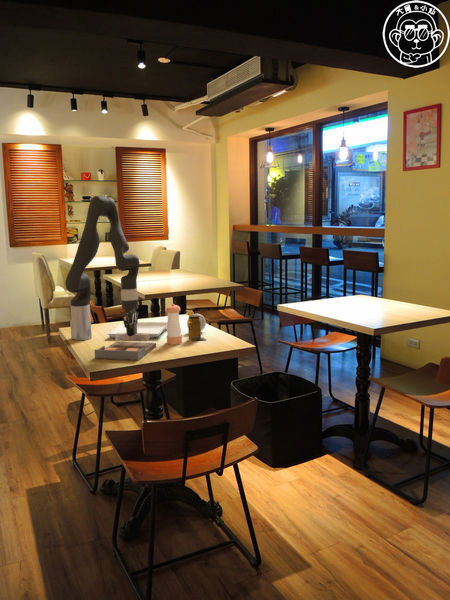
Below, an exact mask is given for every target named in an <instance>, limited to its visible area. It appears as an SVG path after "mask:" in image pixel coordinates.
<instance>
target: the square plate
mask: <svg viewBox="0 0 450 600" xmlns="http://www.w3.org/2000/svg"><path fill="white" fill-rule="evenodd" d="M167 324H168V321H167V322H166V321H165V322H164V321H163V322H161V321H159V322H156V321H149V322H148V321H144V322H143V321H142V322H139V321H138V322H137V334H149V339H152V338H158V337H159V336H160V335H161V334H162V333H163V332H164V331H165V330H167ZM116 333H126V328H125V326H124V322H122V323H120V324H119V325H117V326H115V327H114V328H113V329H112V330H110V331H109V332H108V333H107V335H108V337H111V338H114V339H115V334H116Z"/></svg>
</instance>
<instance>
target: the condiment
mask: <svg viewBox="0 0 450 600" xmlns="http://www.w3.org/2000/svg"><path fill="white" fill-rule="evenodd" d="M188 318H189V321H188V320H187V321H188V326H187V327H188V329H187V330H188V331H187V332H188V337H187V338H186V339H187V340H188V342H197V341H207V339H206V338H205V337H204V336H201V335H202V333H201V332H202V331H201V327H200V319H199V316H198V315H193V314H191V315H189V316H188Z"/></svg>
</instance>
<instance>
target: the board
mask: <svg viewBox="0 0 450 600" xmlns="http://www.w3.org/2000/svg"><path fill="white" fill-rule="evenodd" d="M143 347H144V348H145V356H146V355H147V354H149V353H150V352H152V351H153V350H154V349H156V348H157V342H145V341H115V342H113V343H112V344H110V345H108V346H107V347H106V346H105V349H106V348H118V350H122V351H125V350H127V349H128V348H134V349H139V350H141V349H142V348H143Z"/></svg>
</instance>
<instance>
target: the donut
mask: <svg viewBox="0 0 450 600" xmlns="http://www.w3.org/2000/svg"><path fill="white" fill-rule="evenodd" d="M192 315H198V316H199V319H200V327H201V332H202V331H203V330H204V329H205V327H206V326H207V325H206V323H207V321H206V319H205V317H204V315H202V314H200V313H193V314H192ZM188 321H189V317H188V319H187V321H186V324H187V327H188Z"/></svg>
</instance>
